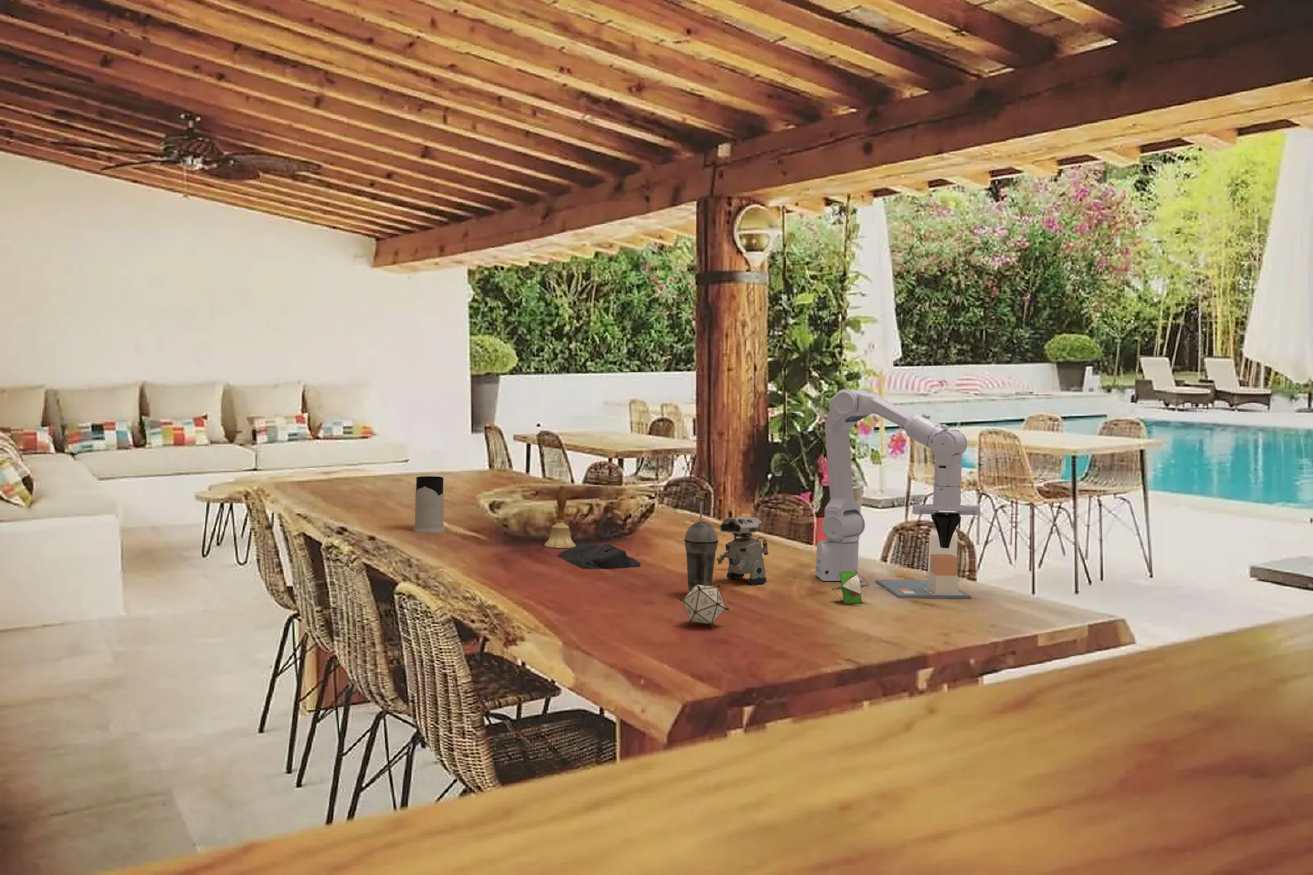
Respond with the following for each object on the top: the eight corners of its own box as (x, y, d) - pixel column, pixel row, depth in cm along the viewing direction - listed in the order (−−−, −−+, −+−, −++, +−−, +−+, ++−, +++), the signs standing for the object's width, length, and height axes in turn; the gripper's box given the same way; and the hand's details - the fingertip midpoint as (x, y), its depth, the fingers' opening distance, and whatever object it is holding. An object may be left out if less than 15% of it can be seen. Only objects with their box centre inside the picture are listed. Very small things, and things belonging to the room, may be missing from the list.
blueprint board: (898, 597, 252) (899, 594, 252) (875, 582, 270) (875, 579, 270) (971, 598, 254) (971, 595, 254) (943, 582, 272) (943, 579, 271)
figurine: (707, 581, 265) (709, 515, 264) (745, 577, 272) (747, 512, 271) (732, 588, 258) (735, 520, 257) (772, 583, 265) (774, 517, 264)
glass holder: (408, 531, 328) (409, 478, 327) (426, 525, 342) (427, 473, 341) (438, 533, 327) (439, 479, 326) (455, 526, 341) (456, 475, 340)
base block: (935, 594, 254) (936, 575, 254) (927, 589, 259) (928, 571, 259) (957, 594, 255) (958, 576, 255) (949, 589, 260) (950, 571, 260)
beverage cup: (720, 593, 251) (723, 500, 250) (711, 599, 245) (714, 504, 243) (688, 590, 254) (691, 498, 253) (678, 596, 247) (680, 501, 246)
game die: (693, 643, 221) (675, 595, 226) (735, 627, 222) (717, 580, 226) (689, 629, 213) (671, 580, 218) (733, 613, 214) (714, 564, 218)
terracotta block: (936, 575, 255) (937, 557, 254) (929, 571, 259) (930, 553, 259) (956, 575, 255) (957, 557, 255) (949, 572, 259) (950, 554, 259)
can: (956, 580, 275) (958, 530, 274) (928, 579, 276) (930, 528, 275) (955, 576, 281) (957, 526, 280) (927, 574, 282) (929, 524, 282)
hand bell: (558, 542, 316) (559, 483, 315) (582, 546, 311) (583, 486, 310) (537, 546, 309) (539, 485, 308) (561, 549, 304) (563, 488, 303)
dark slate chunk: (609, 554, 301) (610, 536, 301) (644, 569, 281) (644, 549, 281) (553, 557, 295) (553, 538, 295) (584, 572, 275) (585, 552, 275)
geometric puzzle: (823, 588, 249) (836, 562, 245) (850, 586, 252) (864, 560, 247) (836, 613, 244) (850, 587, 240) (864, 611, 247) (878, 586, 242)
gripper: (920, 487, 251) (917, 550, 252) (986, 488, 252) (983, 551, 253) (910, 483, 258) (907, 544, 259) (974, 484, 259) (971, 545, 260)
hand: (944, 547), depth 256 cm, fingers closed
